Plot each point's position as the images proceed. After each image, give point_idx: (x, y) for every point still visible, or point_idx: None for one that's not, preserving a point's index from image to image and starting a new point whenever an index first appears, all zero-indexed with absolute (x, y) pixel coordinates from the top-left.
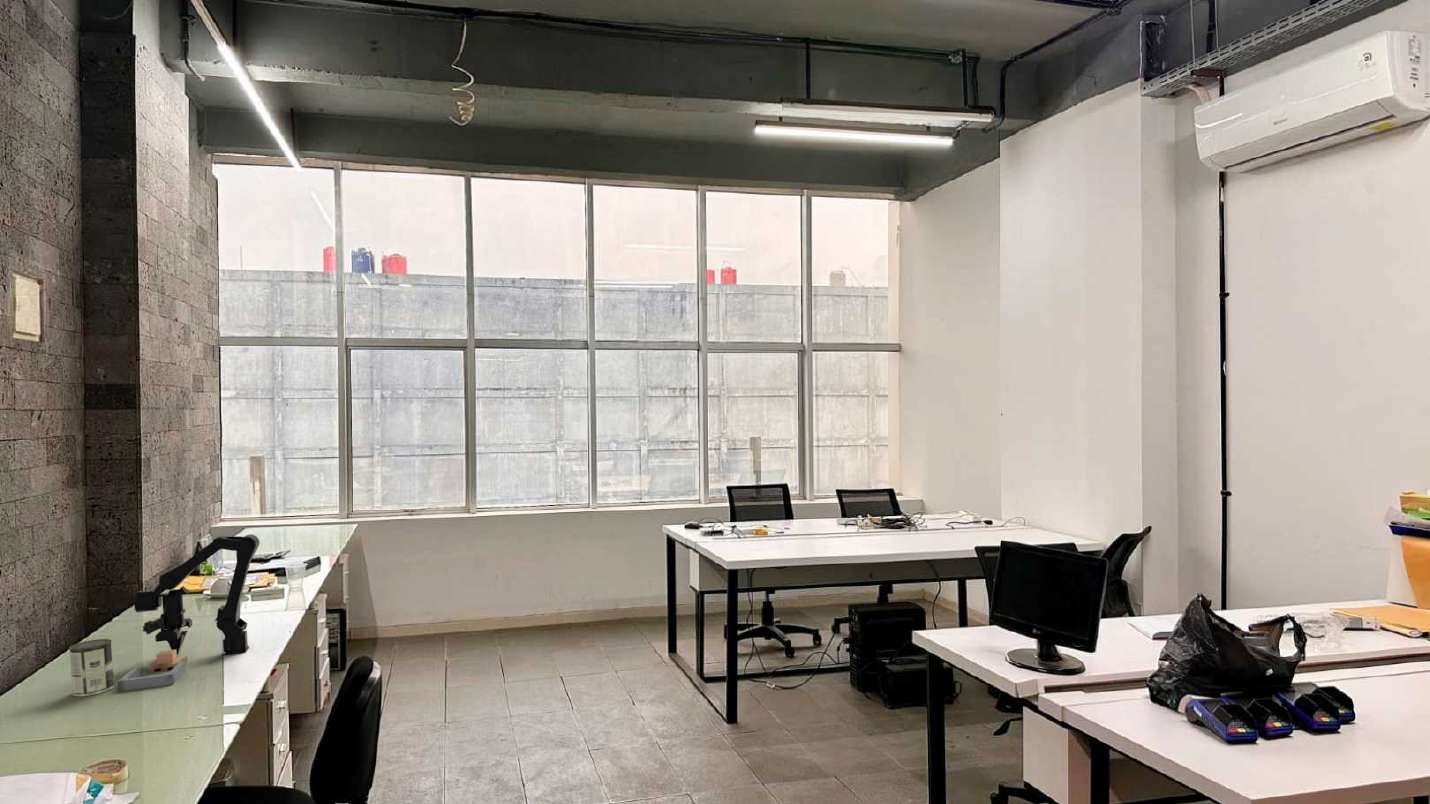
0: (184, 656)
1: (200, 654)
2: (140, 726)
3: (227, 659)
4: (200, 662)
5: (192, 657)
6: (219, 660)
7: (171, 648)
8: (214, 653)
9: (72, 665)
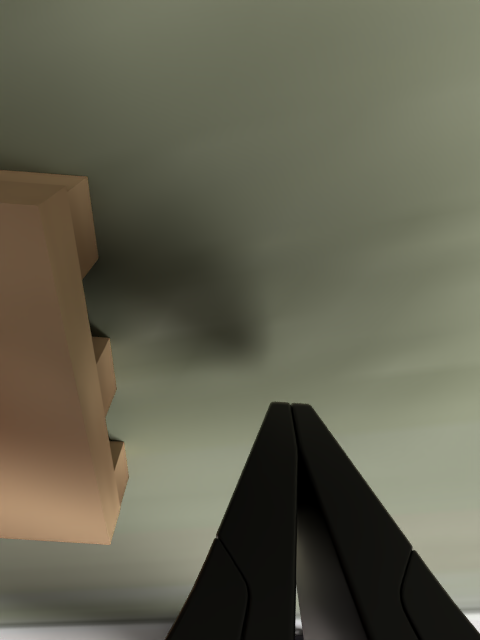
0: (45, 529)
1: None
2: None
3: (49, 635)
4: (20, 549)
5: None
6: (38, 614)
7: (230, 508)
8: None
9: None
